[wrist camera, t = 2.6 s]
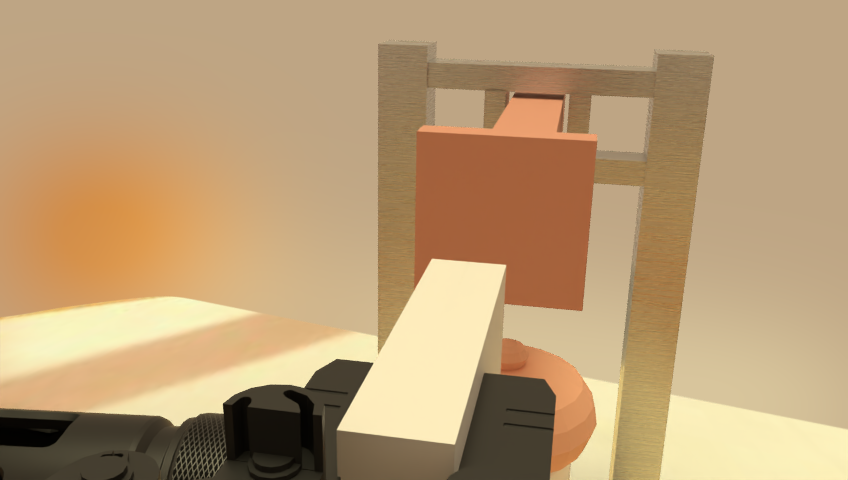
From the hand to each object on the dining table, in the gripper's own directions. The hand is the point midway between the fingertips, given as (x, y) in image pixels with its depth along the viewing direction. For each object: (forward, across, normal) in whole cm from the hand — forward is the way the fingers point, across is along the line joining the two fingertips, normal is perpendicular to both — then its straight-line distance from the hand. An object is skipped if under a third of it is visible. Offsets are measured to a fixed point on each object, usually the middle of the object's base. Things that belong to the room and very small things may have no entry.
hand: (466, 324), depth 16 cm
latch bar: (+18, 0, -2) cm, 19 cm away
